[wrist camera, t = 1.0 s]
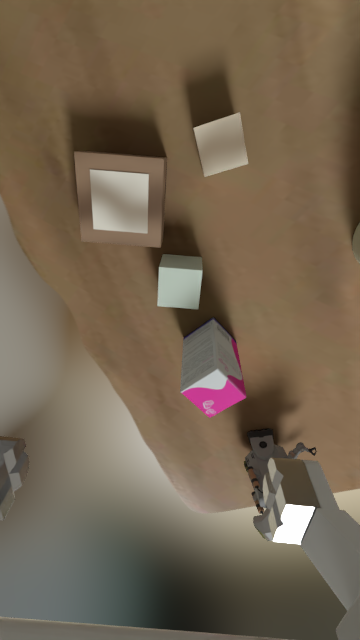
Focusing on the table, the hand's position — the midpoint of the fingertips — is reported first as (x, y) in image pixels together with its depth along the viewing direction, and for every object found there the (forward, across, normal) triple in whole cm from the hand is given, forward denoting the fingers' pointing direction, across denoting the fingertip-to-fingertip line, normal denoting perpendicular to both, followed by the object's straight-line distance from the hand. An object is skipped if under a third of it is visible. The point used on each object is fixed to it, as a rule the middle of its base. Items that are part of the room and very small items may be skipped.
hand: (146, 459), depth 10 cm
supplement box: (+33, -5, +14) cm, 36 cm away
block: (+32, -3, -10) cm, 34 cm away
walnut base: (+32, +7, -5) cm, 33 cm away
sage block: (+32, 0, +4) cm, 33 cm away
